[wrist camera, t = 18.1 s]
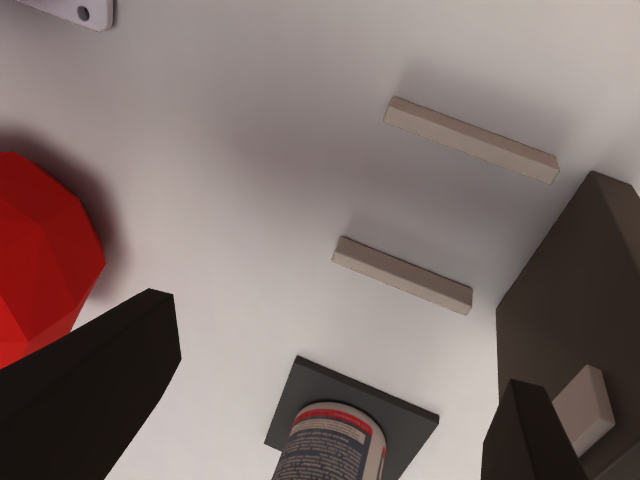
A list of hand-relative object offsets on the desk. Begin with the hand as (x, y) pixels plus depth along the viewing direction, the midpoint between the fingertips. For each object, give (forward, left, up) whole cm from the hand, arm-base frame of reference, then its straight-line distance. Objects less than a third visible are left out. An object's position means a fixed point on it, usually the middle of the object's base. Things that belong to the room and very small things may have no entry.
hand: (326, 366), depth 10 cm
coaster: (+3, -16, -10) cm, 19 cm away
